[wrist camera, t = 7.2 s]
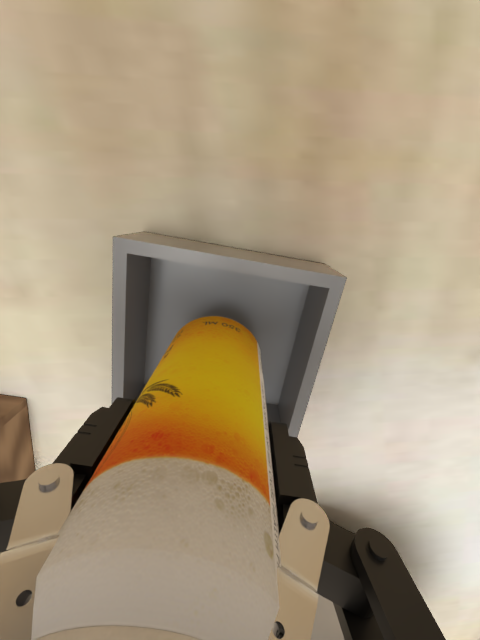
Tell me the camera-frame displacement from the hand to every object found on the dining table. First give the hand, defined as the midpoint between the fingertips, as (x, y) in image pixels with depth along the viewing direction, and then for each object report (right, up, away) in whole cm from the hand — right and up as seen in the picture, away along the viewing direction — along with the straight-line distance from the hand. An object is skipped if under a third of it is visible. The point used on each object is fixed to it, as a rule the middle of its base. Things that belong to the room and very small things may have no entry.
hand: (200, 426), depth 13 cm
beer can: (0, +3, +7) cm, 7 cm away
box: (0, +4, +10) cm, 11 cm away
